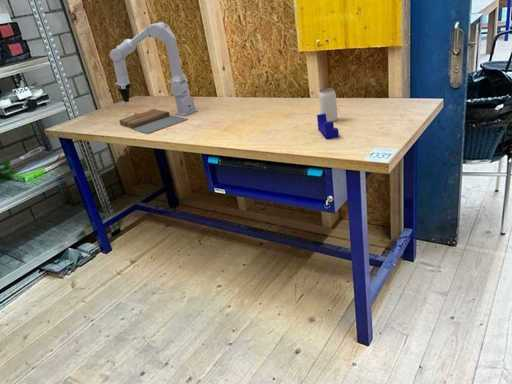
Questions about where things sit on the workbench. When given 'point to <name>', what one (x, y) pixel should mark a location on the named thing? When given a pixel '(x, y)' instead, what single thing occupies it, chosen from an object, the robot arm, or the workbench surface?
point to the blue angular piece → (327, 127)
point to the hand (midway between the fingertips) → (127, 100)
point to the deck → (144, 119)
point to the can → (328, 104)
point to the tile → (142, 113)
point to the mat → (159, 124)
